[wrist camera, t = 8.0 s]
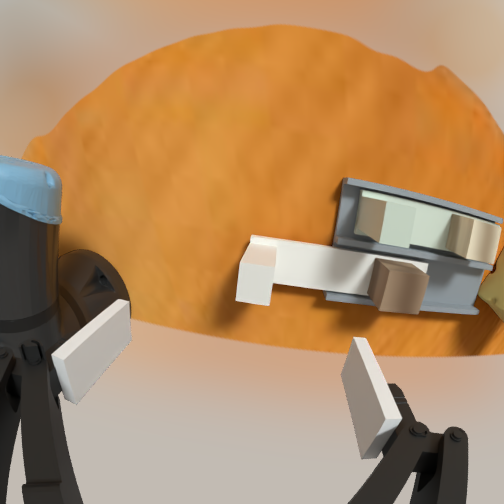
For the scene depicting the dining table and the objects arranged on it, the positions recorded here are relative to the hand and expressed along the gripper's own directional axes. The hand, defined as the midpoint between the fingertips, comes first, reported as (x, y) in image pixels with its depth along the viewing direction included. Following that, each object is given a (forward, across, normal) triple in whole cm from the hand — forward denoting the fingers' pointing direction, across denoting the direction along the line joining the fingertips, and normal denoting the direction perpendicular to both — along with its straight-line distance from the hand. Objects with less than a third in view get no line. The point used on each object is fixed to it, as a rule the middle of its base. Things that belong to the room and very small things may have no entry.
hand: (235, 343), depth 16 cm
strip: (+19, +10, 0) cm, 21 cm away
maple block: (+18, +25, +7) cm, 32 cm away
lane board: (+20, +20, +4) cm, 29 cm away
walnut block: (+18, +16, 0) cm, 24 cm away
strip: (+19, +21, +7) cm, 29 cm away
